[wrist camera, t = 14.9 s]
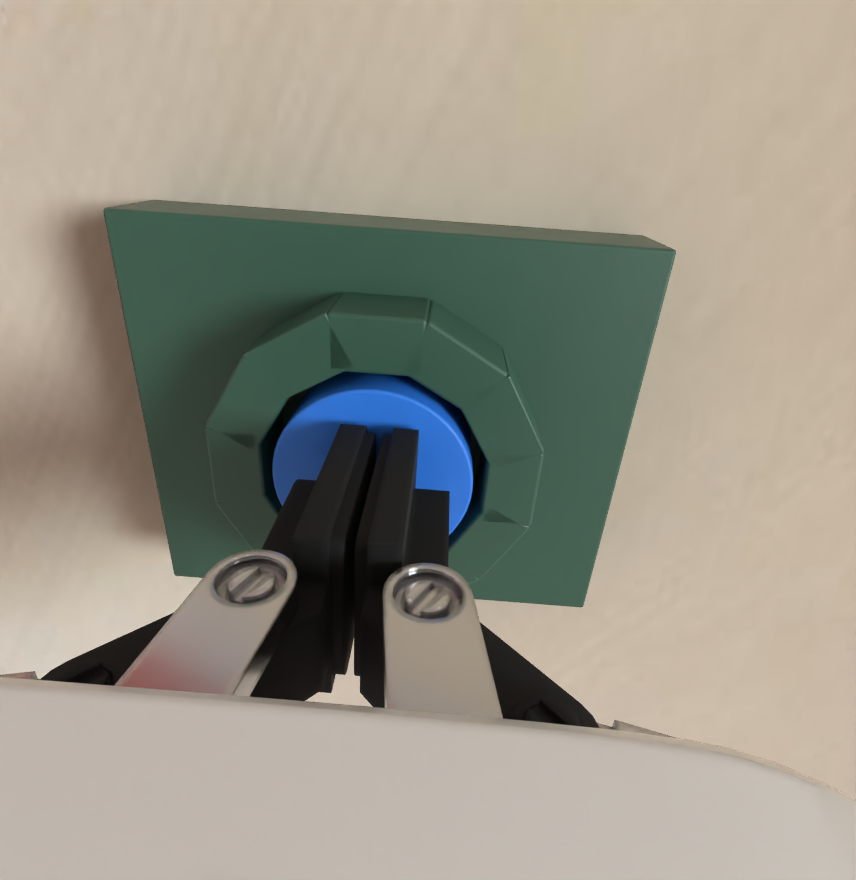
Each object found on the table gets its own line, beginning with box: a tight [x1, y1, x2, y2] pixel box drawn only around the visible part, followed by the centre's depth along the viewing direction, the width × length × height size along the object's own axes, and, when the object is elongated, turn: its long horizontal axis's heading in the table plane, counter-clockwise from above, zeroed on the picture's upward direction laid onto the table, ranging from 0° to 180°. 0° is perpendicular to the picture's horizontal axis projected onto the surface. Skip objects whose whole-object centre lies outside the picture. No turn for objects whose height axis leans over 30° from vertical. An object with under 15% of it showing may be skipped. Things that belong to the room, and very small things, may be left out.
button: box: [273, 371, 473, 535], centre depth 13 cm, size 4×4×2 cm
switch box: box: [104, 200, 676, 607], centre depth 14 cm, size 12×10×4 cm
